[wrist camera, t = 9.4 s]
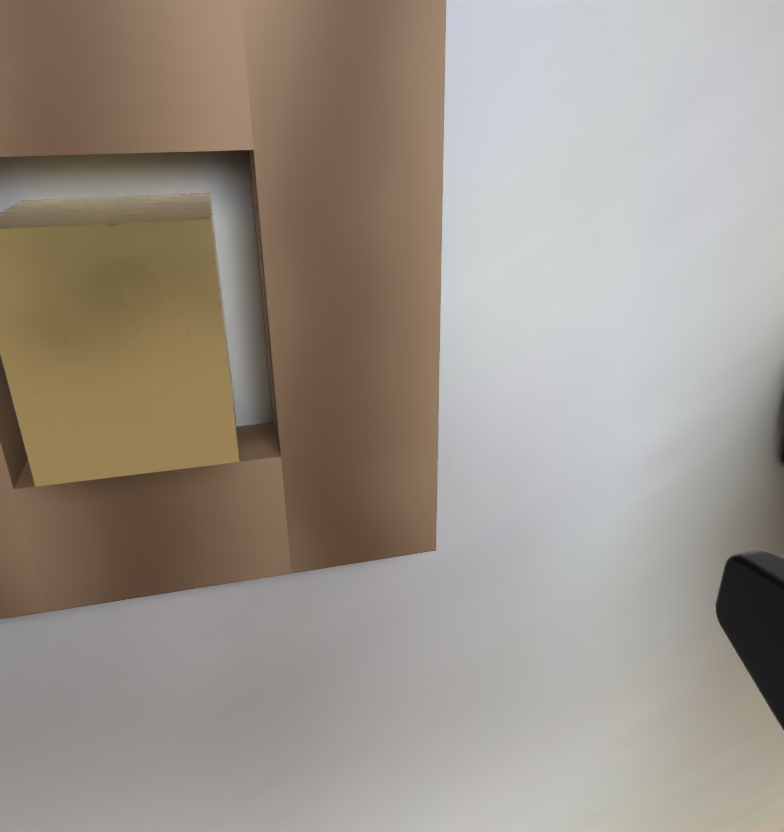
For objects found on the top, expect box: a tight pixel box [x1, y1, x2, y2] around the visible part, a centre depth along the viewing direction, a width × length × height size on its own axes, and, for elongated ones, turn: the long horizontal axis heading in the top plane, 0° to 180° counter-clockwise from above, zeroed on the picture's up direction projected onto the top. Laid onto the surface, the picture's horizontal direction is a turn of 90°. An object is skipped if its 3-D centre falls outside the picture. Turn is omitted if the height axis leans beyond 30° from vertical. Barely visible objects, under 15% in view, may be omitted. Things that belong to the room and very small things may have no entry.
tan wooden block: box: [0, 193, 240, 487], centre depth 15 cm, size 4×5×4 cm
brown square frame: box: [0, 0, 446, 619], centre depth 16 cm, size 14×14×2 cm
